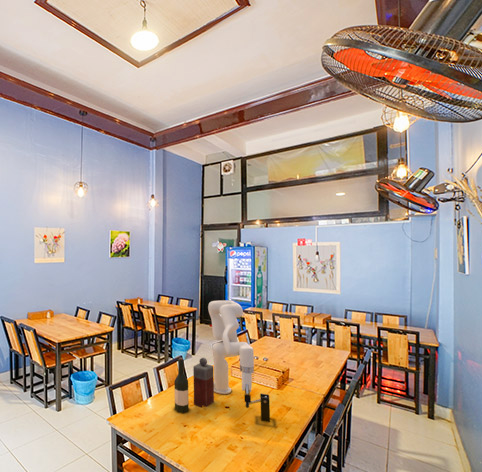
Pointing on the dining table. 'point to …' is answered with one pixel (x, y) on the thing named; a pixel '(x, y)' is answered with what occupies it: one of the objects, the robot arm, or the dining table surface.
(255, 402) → the faucet lever
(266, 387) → the dining table surface
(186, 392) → the wine bottle
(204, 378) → the square decanter
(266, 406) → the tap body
